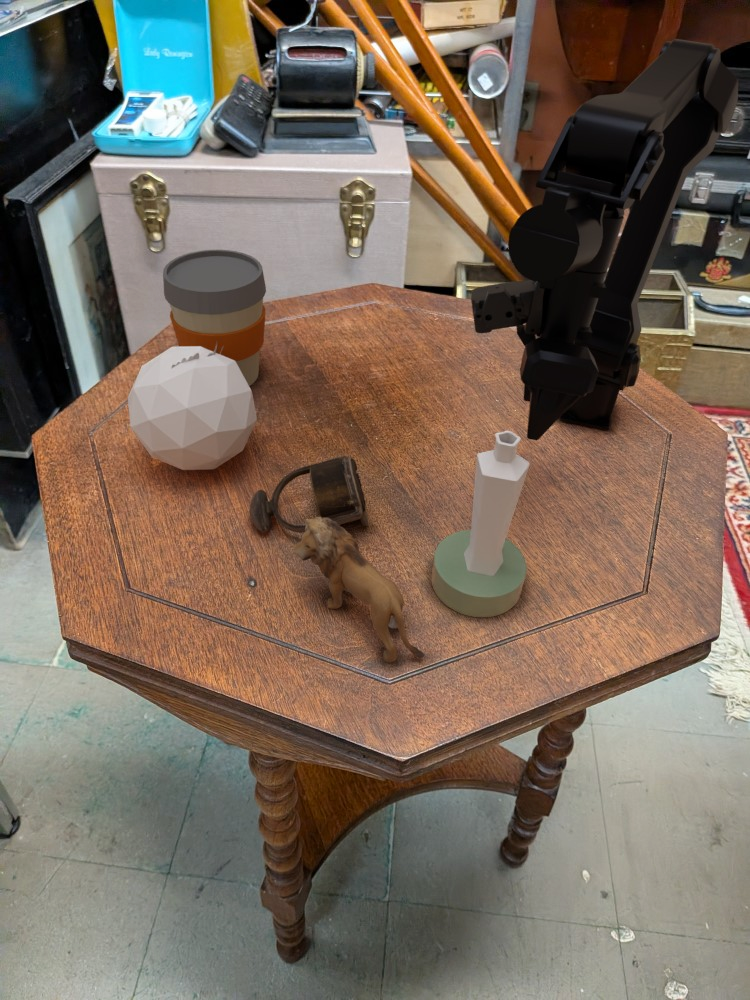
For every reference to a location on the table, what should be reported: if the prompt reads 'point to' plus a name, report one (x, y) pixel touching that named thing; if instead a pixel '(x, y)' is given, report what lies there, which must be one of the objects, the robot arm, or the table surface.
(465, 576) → the ceramic stand
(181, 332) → the reusable coffee cup
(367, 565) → the lion figurine
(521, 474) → the perfume bottle
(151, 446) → the geodesic sphere
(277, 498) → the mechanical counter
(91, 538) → the table surface
